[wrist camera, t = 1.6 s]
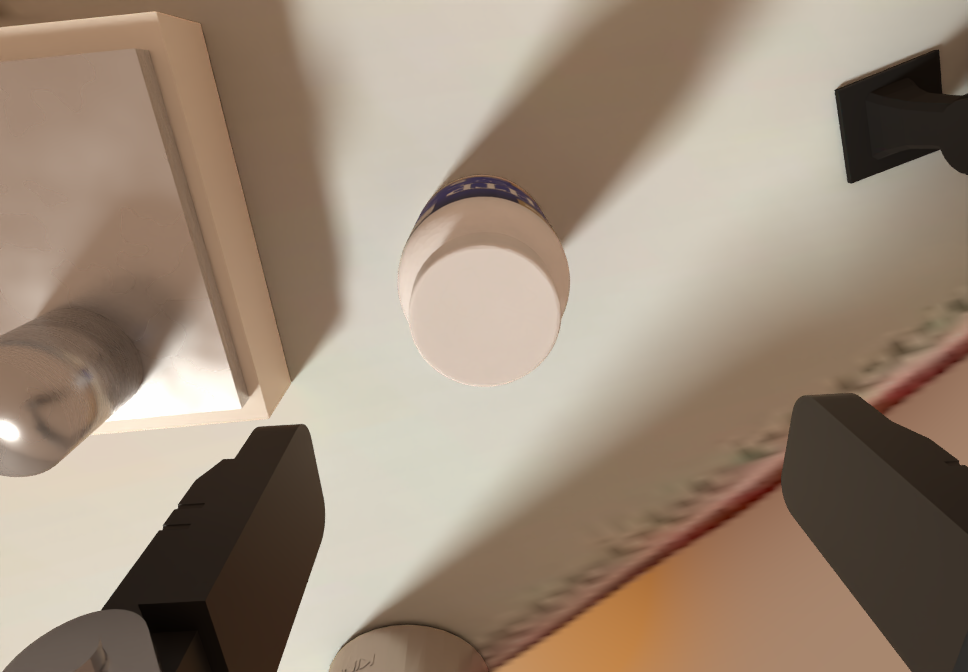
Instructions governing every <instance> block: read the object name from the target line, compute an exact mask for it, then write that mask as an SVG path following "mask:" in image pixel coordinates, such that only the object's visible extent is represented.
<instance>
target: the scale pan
mask: <svg viewBox="0 0 968 672" xmlns="http://www.w3.org/2000/svg"><path fill="white" fill-rule="evenodd" d="M62 308H76V309H82V310H86V311H90V312H93V313H96V314H98V315H100V316H102V317H104V318H106V319H108V320H109V321H111V322H113V323H114V324H115V325H117V326H118V327H119V328H120V329H121V330H122V331H123V332H124V333H125V334H126V335H127V336H128V337H129V338H130V339H131V341H132V342H133V344H134V345H135V347H136V349H137V351H138V353H139V356H140V359H141V363H142V371H143V374H142V381H141V385H140V387H139V389H138V391H137V392H136V394H135V395H134V396H133V397H132V398H131V399H130V400H129V401H128V402H127V403H126V404H125V405H124V406H122V407H121V408H120V409H119V410H118V411H117V412H116V413H114V414H113V415H112V416H111V417H110V418H109V419H108V420H106V421H114V420H125V419H136V418H147V417H157V416H168V415H179V414H190V413H201V412H212V411H223V410H233V409H242V408H243V406H244V405H245V404H246V402H247V401H248V400H249V395H248V391H247V388H246V384H245V381H244V377H243V374H242V371H241V367H240V364H239V360H238V357H237V353H236V350H235V346H234V343H233V339H232V336H231V332H230V329H229V325H228V322H227V318H226V315H225V312H224V308H223V305H222V301H221V298H220V294H219V291H218V287H217V284H216V280H215V277H214V273H213V270H212V266H211V263H210V260H209V256H208V253H207V249H206V246H205V242H204V239H203V235H202V232H201V228H200V225H199V221H198V218H197V214H196V211H195V207H194V204H193V201H192V197H191V194H190V190H189V187H188V183H187V180H186V176H185V173H184V169H183V166H182V162H181V159H180V155H179V152H178V149H177V145H176V142H175V138H174V135H173V131H172V128H171V124H170V121H169V117H168V114H167V110H166V107H165V103H164V100H163V96H162V93H161V90H160V86H159V83H158V79H157V76H156V72H155V69H154V65H153V62H152V58H151V55H150V51H149V50H143V49H136V48H133V49H123V50H114V51H104V52H94V53H84V54H74V55H64V56H55V57H45V58H35V59H25V60H15V61H6V62H0V336H1V335H3V334H5V333H7V332H9V331H11V330H13V329H15V328H17V327H19V326H21V325H23V324H25V323H27V322H29V321H31V320H33V319H35V318H37V317H39V316H41V315H43V314H45V313H47V312H50V311H52V310H56V309H62Z"/></svg>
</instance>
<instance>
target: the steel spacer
mask: <svg viewBox="0 0 968 672" xmlns="http://www.w3.org/2000/svg"><path fill="white" fill-rule="evenodd" d="M142 374H143V371H142V363H141V359H140V356H139V353H138V351H137V349H136V347H135V345H134V344H133V342H132V341H131V339H130V338H129V337H128V336H127V335H126V334H125V333H124V332H123V331H122V330H121V329H120V328H119V327H118V326H117V325H115V324H114V323H113V322H111V321H109V320H108V319H106V318H104V317H102V316H100V315H98V314H96V313H93V312H90V311H86V310H82V309H76V308H62V309H56V310H52V311H50V312H47V313H45V314H43V315H41V316H39V317H37V318H35V319H33V320H31V321H29V322H27V323H25V324H23V325H21V326H19V327H17V328H15V329H13V330H11V331H9V332H7V333H5V334H3V335H1V336H0V475H2V476H9V477H27V476H33V475H37V474H40V473H43V472H45V471H47V470H49V469H51V468H52V467H54V466H55V465H56V464H58V463H59V462H60V461H61V460H62V459H63V458H64V457H66V456H67V455H68V454H69V453H70V452H71V451H72V450H73V449H75V448H76V447H77V446H78V445H79V444H80V443H81V442H83V441H84V440H85V439H86V438H87V437H88V436H89V435H91V434H92V433H93V432H94V431H95V430H96V429H97V428H98V427H100V426H101V425H102V424H103V423H104V422H105V421H106V420H108V419H109V418H110V417H111V416H112V415H113V414H114V413H116V412H117V411H118V410H119V409H120V408H121V407H122V406H124V405H125V404H126V403H127V402H128V401H129V400H130V399H131V398H132V397H133V396H134V395H135V394H136V392H137V391H138V389H139V387H140V385H141V381H142Z"/></svg>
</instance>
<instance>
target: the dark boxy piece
mask: <svg viewBox="0 0 968 672" xmlns="http://www.w3.org/2000/svg"><path fill="white" fill-rule="evenodd" d="M835 96H836V103H837V110H838V117H839V124H840V131H841V138H842V145H843V152H844V160H845V167H846V174H847V181H848V183H854V182H856V181H859V180H862V179H864V178H867V177H869V176H872V175H875V174H877V173H880V172H883V171H885V170H888V169H890V168H893V167H896V166H898V165H901V164H904V163H906V162H909V161H911V160H914V159H917V158H919V157H922V156H924V155H927V154H930V153H932V152H935V151H938V150H940V149H941V152H942V154H943V156H944V158H945V159H946V160H947V162H948V163H949V164H950V165H951V166H952V167H953V168H954V169H956V170H957V171H958V172H960V173H963V174H966V175H968V94H965V95H963V96H960V95H946V94H942V85H941V71H940V57H939V50H934V51H931V52H929V53H926V54H924V55H921V56H919V57H916V58H914V59H911V60H909V61H906V62H904V63H901V64H899V65H896V66H894V67H891V68H889V69H887V70H884V71H882V72H879V73H877V74H874V75H872V76H869V77H867V78H864V79H862V80H859V81H857V82H854V83H852V84H849V85H847V86H844V87H842V88H839V89H837V90H835Z"/></svg>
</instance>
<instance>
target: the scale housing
mask: <svg viewBox="0 0 968 672" xmlns="http://www.w3.org/2000/svg"><path fill="white" fill-rule="evenodd" d="M133 48H136V49H143V50H149V51H150V55H151V58H152V62H153V65H154V69H155V72H156V76H157V79H158V83H159V86H160V90H161V93H162V96H163V100H164V103H165V107H166V110H167V114H168V117H169V121H170V124H171V128H172V131H173V135H174V138H175V142H176V145H177V149H178V152H179V155H180V159H181V162H182V166H183V169H184V173H185V176H186V180H187V183H188V187H189V190H190V194H191V197H192V201H193V204H194V207H195V211H196V214H197V218H198V221H199V225H200V228H201V232H202V235H203V239H204V242H205V246H206V249H207V253H208V256H209V260H210V263H211V266H212V270H213V273H214V277H215V280H216V284H217V287H218V291H219V294H220V298H221V301H222V305H223V308H224V312H225V315H226V318H227V322H228V325H229V329H230V332H231V336H232V339H233V343H234V346H235V350H236V353H237V357H238V360H239V364H240V367H241V371H242V374H243V377H244V381H245V384H246V388H247V391H248V395H249V400H248V401H247V402H246V404H245V405H244V406H243V408H242V409H233V410H223V411H212V412H201V413H190V414H179V415H168V416H157V417H147V418H136V419H125V420H114V421H105V422H104V423H103V424H102V425H101V426H100V427H98V428H97V429H96V430H95V431H94V432H93V433H92V434H91V435H97V434H108V433H119V432H130V431H141V430H151V429H162V428H173V427H184V426H195V425H206V424H217V423H228V422H238V421H249V420H260V419H269V418H270V416H271V415H272V413H273V412H274V410H275V408H276V407H277V405H278V404H279V402H280V400H281V399H282V397H283V396H284V394H285V392H286V391H287V389H288V388H289V386H290V384H291V380H290V376H289V372H288V368H287V364H286V360H285V356H284V352H283V348H282V344H281V340H280V336H279V332H278V329H277V325H276V321H275V317H274V313H273V309H272V305H271V301H270V297H269V293H268V289H267V285H266V281H265V277H264V273H263V269H262V265H261V261H260V257H259V253H258V249H257V245H256V241H255V237H254V233H253V230H252V226H251V222H250V218H249V214H248V210H247V206H246V202H245V198H244V194H243V190H242V186H241V182H240V178H239V174H238V170H237V166H236V162H235V158H234V154H233V150H232V146H231V142H230V138H229V135H228V131H227V127H226V123H225V119H224V115H223V111H222V107H221V103H220V99H219V95H218V91H217V87H216V83H215V79H214V75H213V71H212V67H211V63H210V59H209V55H208V51H207V47H206V43H205V39H204V36H203V32H202V28H201V24H200V23H197V22H193V21H190V20H186V19H182V18H179V17H175V16H172V15H168V14H164V13H161V12H157V11H153V12H144V13H134V14H124V15H115V16H105V17H95V18H85V19H76V20H66V21H56V22H47V23H37V24H27V25H17V26H8V27H0V62H6V61H15V60H25V59H35V58H45V57H55V56H64V55H74V54H84V53H94V52H104V51H114V50H123V49H133Z"/></svg>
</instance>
